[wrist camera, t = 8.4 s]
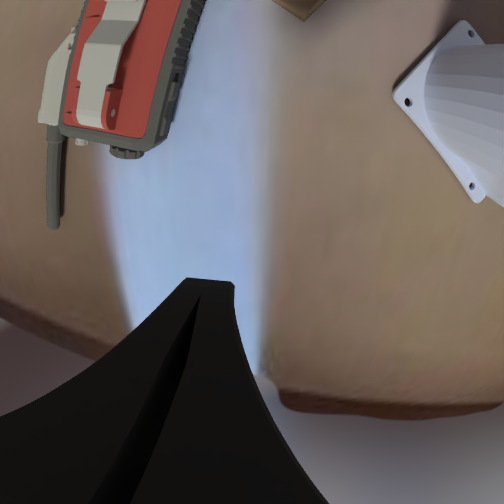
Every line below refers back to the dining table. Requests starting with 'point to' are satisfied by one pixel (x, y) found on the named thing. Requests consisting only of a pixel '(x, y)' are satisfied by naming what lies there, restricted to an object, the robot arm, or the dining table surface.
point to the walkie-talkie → (115, 80)
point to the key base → (300, 7)
